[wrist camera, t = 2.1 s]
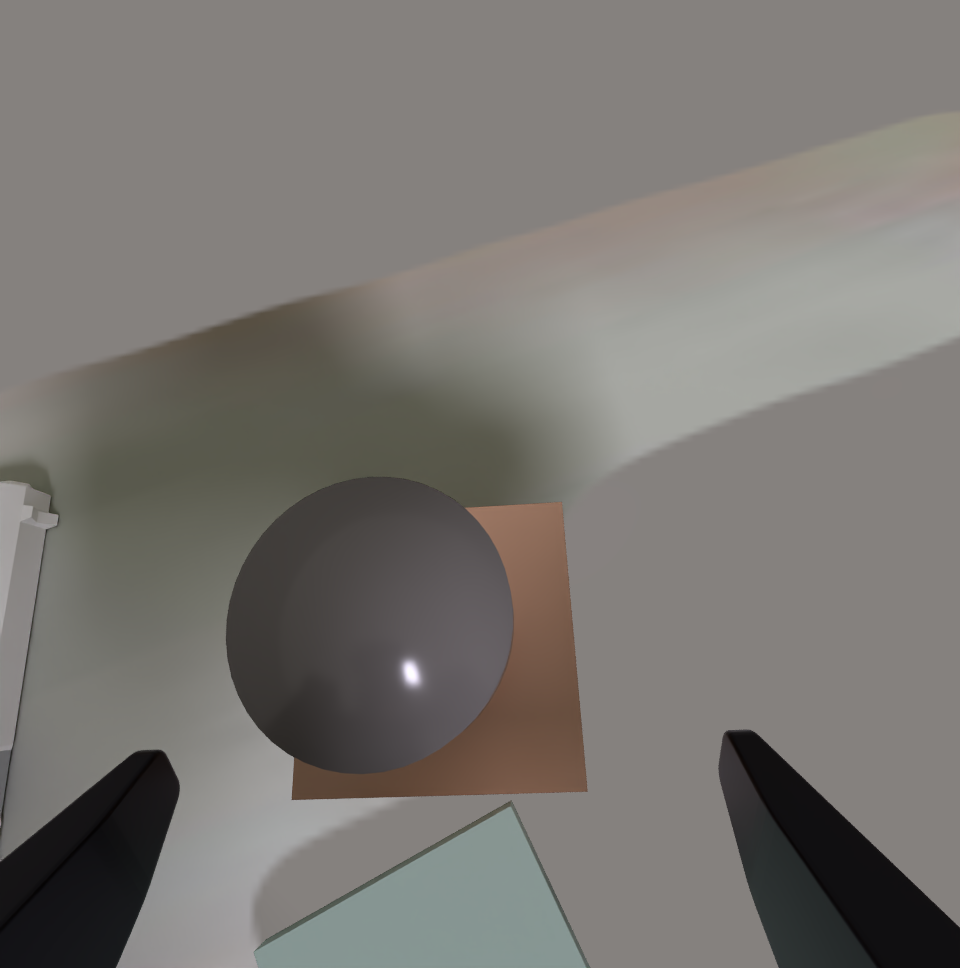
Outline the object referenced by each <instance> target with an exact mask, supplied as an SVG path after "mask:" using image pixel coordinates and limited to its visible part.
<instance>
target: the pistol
mask: <svg viewBox="0 0 960 968" xmlns="http://www.w3.org/2000/svg"><path fill="white" fill-rule="evenodd" d="M50 500H51V495H48V494H46V493H43V492H41V491H38V490H35V489H33V488H32V487H31V486H30V484H28V483H22V482H17V481H11V480H10V481H1V482H0V826H1V813H2V806H3V800H4V793H5V787H6V780H7V774H8V767H9V761H10V754H11V749H12V746H13V741H14V735H15V728H16V722H17V715H18V709H19V702H20V696H21V689H22V683H23V676H24V670H25V663H26V657H27V650H28V644H29V637H30V630H31V624H32V617H33V611H34V604H35V598H36V591H37V585H38V578H39V572H40V565H41V559H42V552H43V546H44V539H45V533H46V529H49V528H51V527H54V526H57V522H58V516H59V515H57V514H52V513H49V506H50Z"/></svg>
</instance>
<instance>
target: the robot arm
mask: <svg viewBox="0 0 960 968" xmlns="http://www.w3.org/2000/svg"><path fill="white" fill-rule="evenodd" d="M719 777H720V782H721V786H722V790H723V793H724V797H725V801H726V805H727V808H728V812H729V816H730V819H731V823H732V827H733V830H734V834H735V838H736V842H737V845H738V849H739V853H740V856H741V860H742V864H743V868H744V871H745V875H746V878H747V882H748V885H749V888H750V892H751V894H752V897H753V900H754V903H755V906H756V909H757V911H758V914H759V916H760V919H761V922H762V925H763V927H764V930H765V933H766V935H767V938H768V941H769V943H770V946H771V948H772V951H773V954H774V956H775V959H776V962H777V964H778V967H779V968H960V927H959V926H958V925H956V923H954V922H953V921H952V920H951V919H950V918H949V917H948V916H947V915H946V914H945V913H944V912H943V911H942V910H941V909H940V908H939V907H938V906H937V905H936V904H935V903H934V902H932V901H931V900H930V899H929V898H928V897H927V896H926V895H925V894H924V893H923V892H922V891H921V890H920V889H919V888H918V887H917V886H916V885H915V884H914V883H913V882H911V880H909V879H908V878H907V877H906V876H905V875H904V874H903V873H902V872H901V871H900V870H899V869H898V868H897V867H896V866H895V865H894V864H893V863H891V862H890V860H889V859H887V858H886V857H885V856H884V855H883V854H882V853H881V852H880V851H879V850H878V849H877V848H876V847H875V846H874V845H873V844H871V842H870V841H869V840H868V839H866V838H865V837H864V836H863V835H862V834H861V833H860V832H859V831H858V830H857V829H856V828H855V827H854V826H853V825H852V824H851V823H850V822H848V820H847V819H845V817H844V816H842V815H841V814H840V813H839V812H838V811H837V810H836V809H835V808H834V807H833V806H832V805H831V804H830V803H829V802H828V801H827V800H826V799H825V798H824V797H823V796H822V795H821V794H819V793H818V792H817V791H816V790H815V789H814V788H813V787H812V786H811V785H810V784H809V783H808V782H807V781H806V780H805V779H804V778H803V777H802V776H801V775H800V774H798V773H797V772H796V771H795V770H794V769H793V768H792V767H791V766H790V765H789V764H788V763H787V762H786V761H785V760H784V759H783V758H782V757H781V756H780V755H779V754H778V753H777V752H776V751H774V750H773V749H772V748H771V747H770V746H769V745H768V744H767V743H766V742H765V741H764V740H763V739H762V738H761V737H760V736H759V735H757V734H756V733H755V732H753V731H751V730H728V731H726V732H725V733H724V735H723V739H722V746H721V753H720V759H719ZM179 792H180V785H179V780H178V778H177V776H176V774H175V772H174V769H173V767H172V765H171V763H170V761H169V759H168V757H167V755H166V753H165V752H163V751H162V750H141V751H137V752H135V753H133V754H132V755H130V756H129V757H128V758H126V759H125V760H124V761H123V762H122V763H120V764H119V765H118V766H117V767H115V768H114V769H113V770H112V771H111V772H109V773H108V774H107V775H106V776H104V777H103V778H102V779H101V780H100V781H98V782H97V783H96V784H95V785H93V786H92V787H91V788H90V789H89V790H87V791H86V792H85V793H84V794H82V795H81V796H80V797H79V798H78V799H76V800H75V801H74V802H73V803H71V804H70V805H69V806H68V807H67V808H65V809H64V810H63V811H62V812H60V813H59V814H58V815H57V816H56V817H54V818H53V819H52V820H51V821H49V822H48V823H47V824H46V825H45V826H43V827H42V828H41V829H40V830H38V831H37V832H36V833H35V834H34V835H32V836H31V837H30V838H29V839H27V840H26V841H25V842H24V843H23V844H21V845H20V846H19V847H18V848H16V849H15V850H14V851H13V852H12V853H10V854H9V855H8V856H7V857H5V858H4V859H3V860H2V861H1V862H0V968H116V966H117V964H118V962H119V959H120V957H121V955H122V952H123V950H124V948H125V945H126V943H127V941H128V938H129V936H130V934H131V931H132V929H133V927H134V924H135V922H136V920H137V917H138V915H139V912H140V910H141V907H142V905H143V902H144V900H145V897H146V894H147V892H148V889H149V886H150V883H151V880H152V877H153V874H154V871H155V868H156V865H157V862H158V859H159V856H160V853H161V850H162V847H163V843H164V840H165V837H166V834H167V831H168V828H169V825H170V822H171V819H172V816H173V813H174V810H175V807H176V804H177V801H178V797H179Z"/></svg>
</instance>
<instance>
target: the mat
mask: <svg viewBox="0 0 960 968" xmlns="http://www.w3.org/2000/svg"><path fill="white" fill-rule="evenodd" d="M254 955H255V958H256V961H257V965H258V968H590V966H589V964H588V963H587V960H586V958H585V956H584V954H583V952H582V949H581V947H580V945H579V943H578V941H577V939H576V937H575V935H574V932H573V930H572V928H571V926H570V924H569V922H568V920H567V918H566V916H565V913H564V911H563V909H562V907H561V905H560V903H559V901H558V898H557V896H556V894H555V892H554V890H553V888H552V886H551V884H550V881H549V879H548V877H547V875H546V873H545V871H544V869H543V867H542V864H541V862H540V860H539V858H538V856H537V854H536V852H535V850H534V847H533V845H532V843H531V841H530V839H529V837H528V835H527V832H526V830H525V828H524V826H523V824H522V822H521V820H520V817H519V816H518V813H517V811H516V809H515V807H514V805H513V803H512V801H510V802H508V803H506V804H504V805H503V806H501V807H499V808H497V809H496V810H494V811H492V812H490V813H488V814H487V815H485V816H483V817H481V818H480V819H478V820H476V821H474V822H473V823H471V824H469V825H467V826H466V827H464V828H462V829H460V830H458V831H457V832H455V833H453V834H451V835H450V836H448V837H446V838H444V839H443V840H441V841H439V842H437V843H436V844H434V845H432V846H430V847H429V848H427V849H425V850H423V851H422V852H420V853H418V854H416V855H414V856H413V857H411V858H410V859H407V860H406V861H404V862H402V863H400V864H398V865H397V866H395V867H393V868H392V869H390V870H388V871H386V872H384V873H383V874H381V875H379V876H378V877H376V878H374V879H372V880H370V881H368V882H367V883H365V884H363V885H362V886H360V887H358V888H356V889H354V890H353V891H351V892H349V893H347V894H346V895H344V896H342V897H340V898H339V899H337V900H335V901H333V902H331V903H330V904H328V905H327V906H324V907H323V908H321V909H319V910H318V911H316V912H314V913H312V914H310V915H309V916H307V917H305V918H303V919H302V920H300V921H298V922H296V923H295V924H293V925H291V926H289V927H287V928H286V929H284V930H282V931H280V932H279V933H277V934H275V935H273V936H271V937H270V938H268V939H266V940H265V941H264V942H263V943H262V944H261V945H260V946H259V947H258V948H257V949H256V950H255V951H254Z"/></svg>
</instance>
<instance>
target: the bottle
mask: <svg viewBox="0 0 960 968" xmlns="http://www.w3.org/2000/svg"><path fill="white" fill-rule="evenodd" d="M226 646H227V657H228V663H229V667H230V672H231V677H232V680H233V682H234V685H235V688H236V691H237V693H238V696H239V698H240V700H241V702H242V703H243V705H244V707H245V709H246V711H247V713H248V714H249V716H250V717H251V718H252V720H253V721H254V722H255V724H256V725H257V727H258V728H259V729H260V730H261V731H262V732H263V733H264V734H265V735H266V736H267V737H268V738H269V739H270V740H271V741H272V742H273V743H274V744H276V745H277V746H278V747H280V748H281V749H282V750H284V751H285V752H286V753H288V754H289V755H291V756H293V757H294V771H293V787H292V800H306V799H342V798H377V797H413V796H448V795H484V794H519V793H554V792H587V781H586V769H585V758H584V746H583V735H582V723H581V713H580V701H579V690H578V678H577V668H576V656H575V645H574V634H573V623H572V611H571V600H570V588H569V577H568V567H567V555H566V543H565V532H564V521H563V510H562V502H554V503H537V504H520V505H504V506H487V507H470V508H464V507H463V506H461V505H460V504H459V503H458V502H456V501H455V500H454V499H452V498H451V497H449V496H447V495H445V494H444V493H442V492H440V491H438V490H436V489H434V488H431V487H429V486H426V485H424V484H422V483H418V482H414V481H410V480H406V479H400V478H392V477H367V478H359V479H352V480H348V481H344V482H340V483H336V484H334V485H331V486H329V487H326V488H323V489H321V490H319V491H317V492H315V493H313V494H311V495H309V496H307V497H305V498H304V499H302V500H301V501H299V502H298V503H296V504H295V505H293V506H292V507H290V508H289V509H288V510H287V511H286V512H284V513H283V514H282V515H281V516H280V517H279V518H277V519H276V520H275V521H274V522H273V523H272V525H271V526H270V527H269V528H268V529H267V530H266V531H265V532H264V533H263V534H262V536H261V537H260V539H259V540H258V541H257V543H256V544H255V545H254V547H253V548H252V550H251V551H250V553H249V555H248V557H247V559H246V560H245V562H244V564H243V566H242V568H241V570H240V573H239V575H238V578H237V580H236V582H235V585H234V589H233V592H232V596H231V599H230V604H229V610H228V616H227V627H226Z"/></svg>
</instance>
